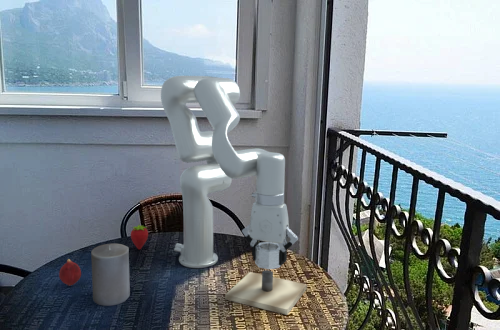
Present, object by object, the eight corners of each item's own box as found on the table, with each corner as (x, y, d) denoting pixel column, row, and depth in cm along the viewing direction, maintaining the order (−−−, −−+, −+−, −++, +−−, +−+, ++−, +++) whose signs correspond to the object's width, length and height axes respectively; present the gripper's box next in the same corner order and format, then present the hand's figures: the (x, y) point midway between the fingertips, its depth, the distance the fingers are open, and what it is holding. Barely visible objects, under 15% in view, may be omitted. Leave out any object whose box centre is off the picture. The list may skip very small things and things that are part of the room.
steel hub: (252, 266, 125) (252, 248, 124) (262, 257, 131) (262, 240, 130) (275, 270, 122) (276, 253, 121) (285, 261, 128) (285, 244, 127)
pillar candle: (88, 294, 126) (85, 243, 123) (122, 285, 132) (120, 236, 128) (100, 310, 118) (98, 255, 115) (136, 299, 124) (134, 247, 121)
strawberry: (148, 244, 163) (148, 217, 161) (148, 253, 155) (147, 224, 153) (131, 245, 162) (130, 218, 160) (130, 253, 154) (129, 225, 152)
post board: (225, 299, 125) (225, 277, 124) (249, 276, 139) (250, 256, 138) (287, 314, 118) (288, 291, 116) (306, 289, 132) (307, 268, 131)
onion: (86, 283, 132) (84, 257, 131) (70, 292, 127) (69, 265, 126) (71, 279, 135) (69, 253, 133) (55, 287, 130) (53, 261, 128)
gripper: (234, 198, 123) (234, 260, 126) (296, 206, 116) (294, 272, 119) (246, 192, 130) (246, 251, 133) (305, 199, 123) (303, 262, 126)
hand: (269, 260), depth 126 cm, fingers closed on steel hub, 7 cm apart
